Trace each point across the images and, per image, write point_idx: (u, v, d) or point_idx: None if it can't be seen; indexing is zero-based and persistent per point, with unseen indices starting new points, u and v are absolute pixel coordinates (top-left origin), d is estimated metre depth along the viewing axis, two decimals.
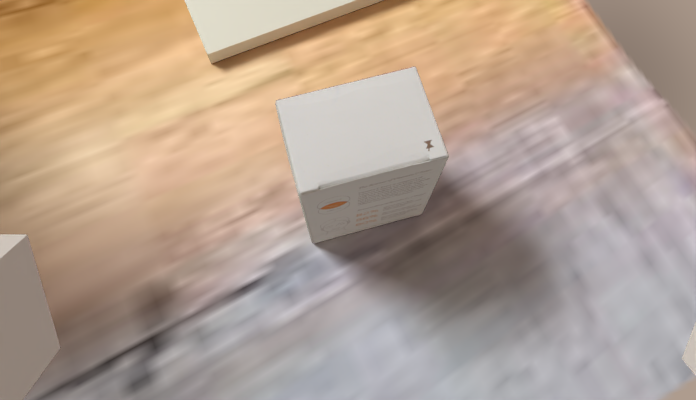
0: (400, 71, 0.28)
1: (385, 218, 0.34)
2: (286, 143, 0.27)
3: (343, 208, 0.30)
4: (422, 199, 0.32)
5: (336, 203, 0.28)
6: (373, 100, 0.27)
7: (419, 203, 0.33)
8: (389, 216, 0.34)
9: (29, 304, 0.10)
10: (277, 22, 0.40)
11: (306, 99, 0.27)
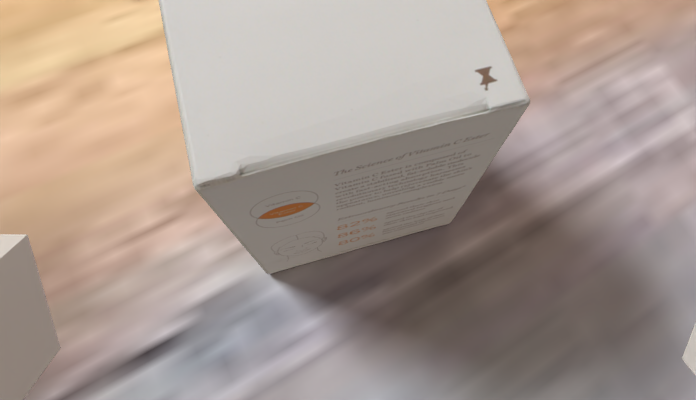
0: None
1: (390, 231, 0.20)
2: (174, 76, 0.12)
3: (309, 216, 0.15)
4: (457, 198, 0.18)
5: (292, 207, 0.14)
6: None
7: (450, 205, 0.19)
8: (397, 228, 0.20)
9: (29, 304, 0.10)
10: None
11: None
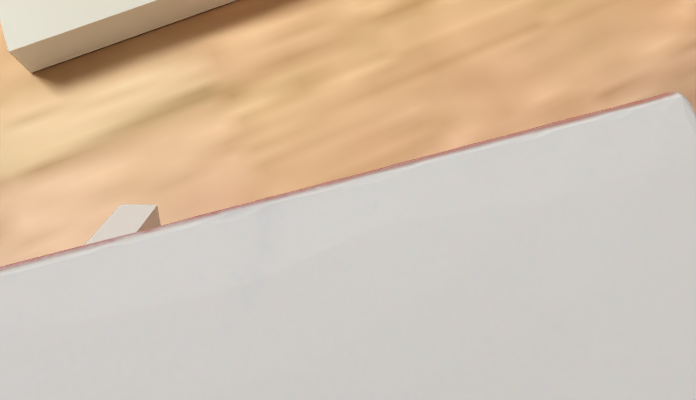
0: (607, 122, 0.05)
1: None
2: None
3: None
4: None
5: None
6: (477, 300, 0.05)
7: None
8: None
9: None
10: None
11: (78, 289, 0.05)
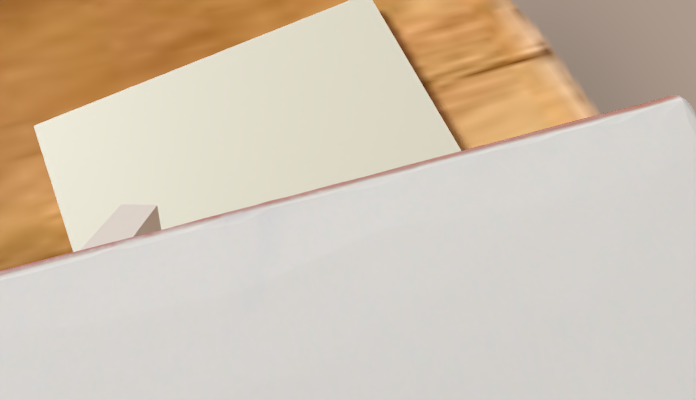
0: (609, 125, 0.05)
1: None
2: None
3: None
4: None
5: None
6: (480, 304, 0.05)
7: None
8: None
9: None
10: None
11: (80, 293, 0.05)
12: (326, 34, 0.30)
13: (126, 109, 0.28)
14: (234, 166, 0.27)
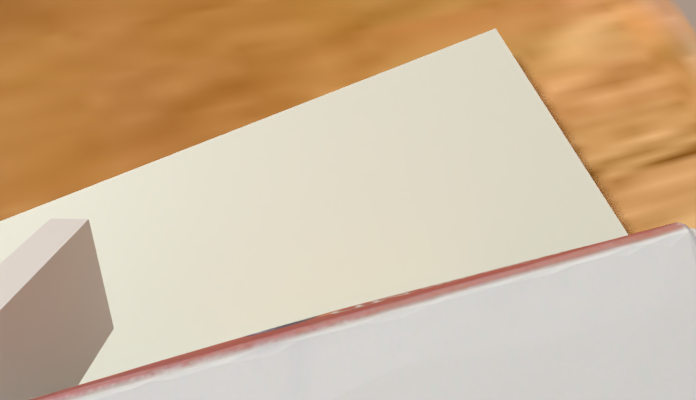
0: (618, 257, 0.05)
1: None
2: None
3: None
4: None
5: None
6: None
7: None
8: None
9: (90, 285, 0.10)
10: None
11: None
12: (432, 94, 0.19)
13: (106, 215, 0.17)
14: None
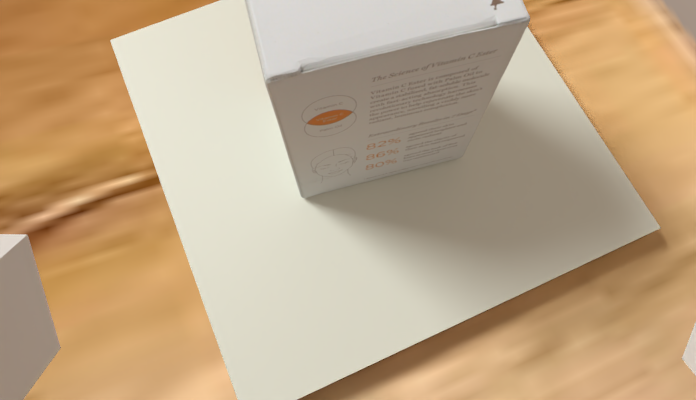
0: None
1: (410, 158, 0.23)
2: None
3: (346, 128, 0.18)
4: (468, 124, 0.21)
5: (334, 113, 0.17)
6: None
7: (463, 132, 0.22)
8: (416, 155, 0.23)
9: (29, 304, 0.10)
10: (370, 350, 0.22)
11: None
12: None
13: (206, 25, 0.27)
14: None
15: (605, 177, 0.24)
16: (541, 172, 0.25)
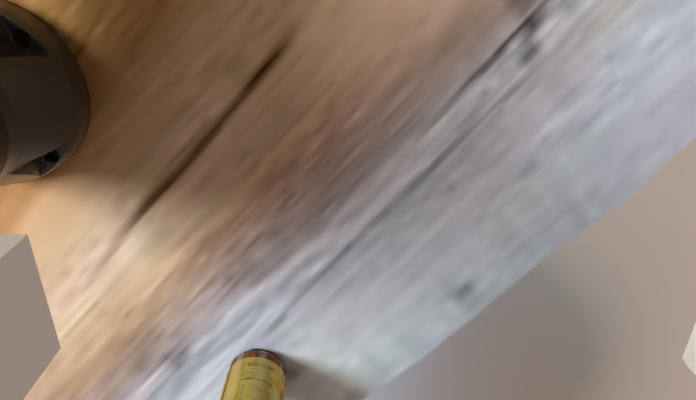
0: None
1: None
2: None
3: None
4: None
5: None
6: None
7: None
8: None
9: (29, 304, 0.10)
10: None
11: None
12: None
13: None
14: None
15: None
16: None
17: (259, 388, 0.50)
